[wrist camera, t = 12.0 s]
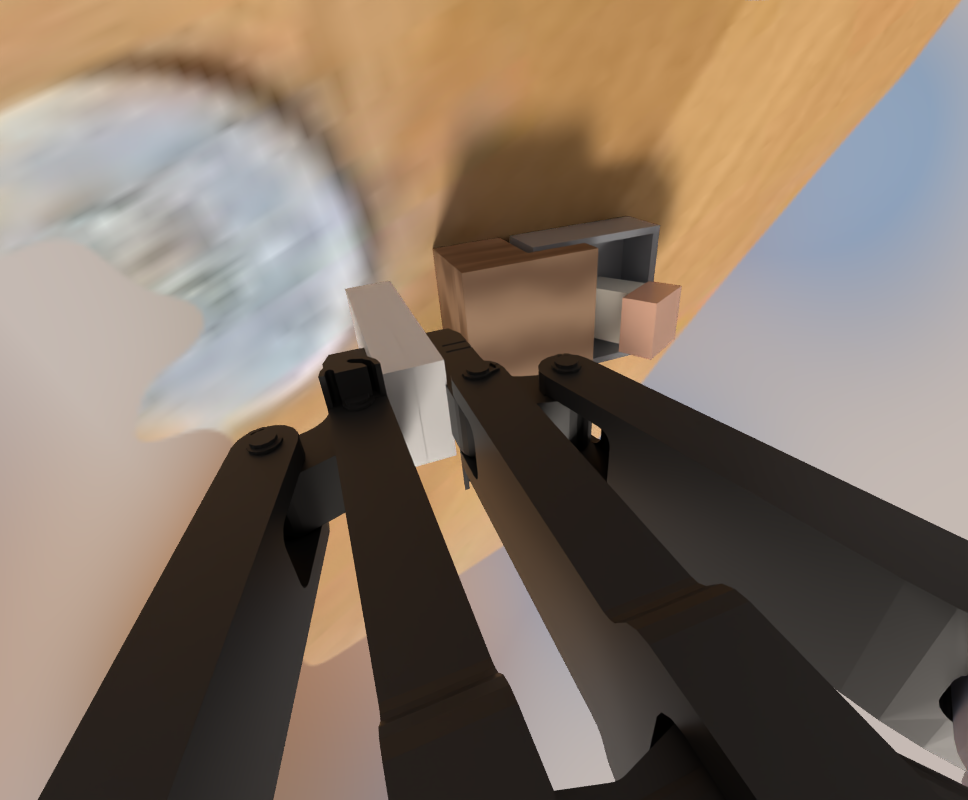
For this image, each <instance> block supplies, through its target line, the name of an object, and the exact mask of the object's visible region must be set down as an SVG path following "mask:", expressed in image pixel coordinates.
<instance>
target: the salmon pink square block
mask: <svg viewBox="0 0 968 800" xmlns="http://www.w3.org/2000/svg"><path fill="white" fill-rule="evenodd" d="M681 287H682V286H680V285H673V284H666V283H659V282H652V281H648V282H646V283H645V284H643V285H642V286H640V287H638V288H637V289H635V290H634V291H632V292H631V293H629V294H628V295H626V296H624V297H623V298H622V311H621V326H620V340H619V352H622V353H626V354H630V355H634V356H638V357H642V358H646V359H652V358H653V357H654V356H656V355H657V354H658V353H659V352H660V351H661V350H662V349H664V348H665V347H666V346H667V345H668V344H669V343H670V342H672V341H673V340H674V339H675V332H676V324H677V317H678V309H679V302H680V294H681Z"/></svg>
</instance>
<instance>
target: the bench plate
mask: <svg viewBox="0 0 968 800" xmlns="http://www.w3.org/2000/svg"><path fill="white" fill-rule="evenodd" d="M433 255H434V263H435V271H436V279H437V287H438V294H439V302H440V310H441V318H442V325H443V329H447V328H449V329H452V330H454V331H456V332H459V333H461V335H462V336H463V337H464V338H465V339H466V341H467V342H468V343H469V344H470V345H471V347H472V348H473V349H474V350H475V351H476V352H477V354H478V355H479V356H480V357H481V358H482V359H483V360H484V361H492V362H496V363H499V364H500V365H502V366H503V367H504V368H505V369H506V370H507V371H508V372H509V373H510V375H511V376H531V375H538V365H539V364H540V362H541V361H542V360H544V359H546V358H547V357H550V356H554V355H556V354H563V353H569V354H573V355H579V356H582V357H585V358H588V359H590V360H592V361H593V347H594V327H595V307H596V286H597V266H598V248H597V247H594V246H592V245H589V244H587V243H581V244H575V245H570V246H564V247H559V248H553V249H547V250H542V251H536V252H531V253H527V252H525V251H523V250H521V249H519V248H517V247H516V246H514V245H512V244H510V243H508V242H506V241H505V240H503V239H501V238H493V239H487V240H481V241H475V242H469V243H463V244H457V245H451V246H445V247H439V248H433Z"/></svg>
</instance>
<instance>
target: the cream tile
mask: <svg viewBox="0 0 968 800" xmlns="http://www.w3.org/2000/svg"><path fill="white" fill-rule="evenodd" d="M643 284H645V283H641V282H635V281H628V280H621V279H614V278H607V277H601V276H599V277H597V286H596V307H595V327H594V338H597V339H601V340H606V341H610V342H614V343H619V340H620V326H621V311H622V298H623V297H624V296H626V295H628V294H629V293H631V292H632V291H634V290H635V289H637V288H638V287H640V286H642V285H643Z"/></svg>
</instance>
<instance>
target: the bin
mask: <svg viewBox="0 0 968 800" xmlns="http://www.w3.org/2000/svg"><path fill="white" fill-rule="evenodd" d="M659 229H660V225H657V224H654V223H650V222H647V221H643V220H640V219H636V218H632V217H629V216H625V217H619V218H613V219H607V220H601V221H595V222H589V223H583V224H577V225H571V226H565V227H559V228H553V229H547V230H541V231H535V232H529V233H523V234H517V235H511V236H510V244H512V245H514V246H516V247H517V248H519V249H521V250H523V251H525V252H527V253H531V252H536V251H542V250H547V249H553V248H559V247H564V246H570V245H575V244H581V243H587V244H589V245H592V246H594V247H597V248H598V266H597V277H599V276H601V277H607V278H614V279H621V280H628V281H635V282H641V283H646V282H648V281H652V282H654V273H655V264H656V255H657V247H658V238H659ZM628 355H630V354H626V353H622V352H619V343H614V342H610V341H606V340H601V339H597V338H594V347H593V361H594V362H596V363H600V362H604V361H608V360H612V359H616V358H620V357H624V356H628Z"/></svg>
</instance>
